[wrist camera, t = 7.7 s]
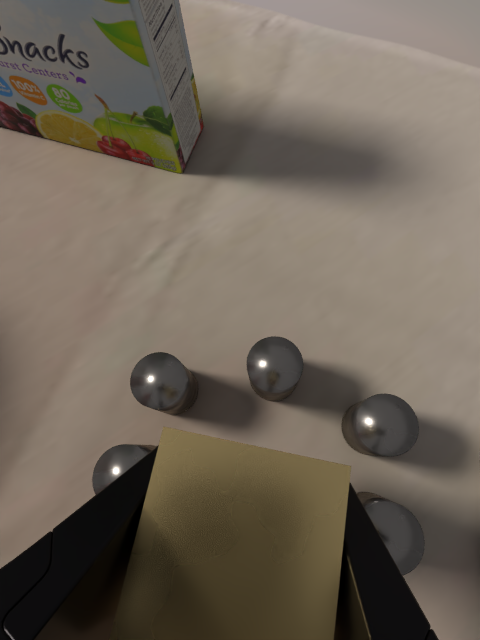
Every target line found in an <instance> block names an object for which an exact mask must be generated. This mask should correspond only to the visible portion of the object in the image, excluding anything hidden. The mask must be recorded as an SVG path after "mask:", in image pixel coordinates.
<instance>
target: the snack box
mask: <svg viewBox="0 0 480 640" xmlns="http://www.w3.org/2000/svg"><path fill="white" fill-rule="evenodd" d="M0 126H1V127H5V128H9V129H13V130H17V131H21V132H24V133H28V134H32V135H36V136H40V137H44V138H48V139H52V140H55V141H59V142H63V143H66V144H70V145H74V146H78V147H82V148H85V149H89V150H93V151H97V152H101V153H104V154H108V155H112V156H115V157H119V158H123V159H127V160H131V161H134V162H138V163H141V164H146V165H150V166H153V167H157V168H161V169H164V170H168V171H172V172H176V173H183V172H184V169H185V166H186V164H187V162H188V159H189V157H190V155H191V153H192V150H193V148H194V146H195V144H196V142H197V139H198V137H199V135H200V133H201V131H202V129H203V120H202V115H201V109H200V105H199V100H198V95H197V89H196V84H195V79H194V74H193V69H192V64H191V59H190V54H189V50H188V44H187V39H186V34H185V29H184V24H183V19H182V14H181V8H180V3H179V0H0Z"/></svg>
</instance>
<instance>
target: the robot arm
mask: <svg viewBox="0 0 480 640" xmlns="http://www.w3.org/2000/svg"><path fill="white" fill-rule="evenodd" d="M158 447H159V445H158V446H157V447H156V448H155V449H153V450H152V451H151V452H150V453H148V454H147V455H146V456H144V457H143V458H142V459H141V460H139V461H138V462H137V463H136V464H134V465H133V466H132V467H131V468H129V469H128V470H127V471H126V472H124V473H123V474H122V475H121V476H119V477H118V478H117V479H116V480H114V481H113V482H112V483H110V484H109V485H108V486H107V487H105V488H104V489H103V490H102V491H100V492H99V493H98V494H97V495H95V496H94V497H93V498H92V499H90V500H89V501H88V502H87V503H85V504H84V505H83V506H81V507H80V508H79V509H78V510H76V511H75V512H74V513H73V514H71V515H70V516H69V517H68V518H66V519H65V520H64V521H63V522H61V523H60V524H59V525H58V526H56V527H55V528H54V529H53V532H51V531H50V532H48V533H47V534H46V535H45V536H43V537H42V538H41V539H40V540H38V541H37V542H36V543H35V544H33V545H32V546H31V547H29V548H28V549H27V550H25V551H24V552H23V553H21V554H20V555H19V556H17V557H16V558H15V559H14V560H12V561H11V562H9V563H8V564H6V565H5V566H4V567H2V568H1V569H0V640H109V638H110V635H111V631H112V627H113V623H114V619H115V615H116V611H117V607H118V603H119V599H120V595H121V591H122V588H123V584H124V580H125V576H126V572H127V568H128V564H129V560H130V556H131V552H132V548H133V544H134V541H135V537H136V533H137V529H138V525H139V521H140V517H141V513H142V509H143V505H144V501H145V497H146V494H147V490H148V486H149V482H150V478H151V474H152V470H153V466H154V462H155V458H156V454H157V451H158ZM334 640H438V638H437V636H436V634H435V632H434V631H433V630H432V629H430V624H429V622H428V620H427V618H426V617H425V615H424V613H423V611H422V609H421V608H420V606H419V604H418V602H417V601H416V599H415V597H414V595H413V593H412V592H411V590H410V588H409V586H408V584H407V583H406V581H405V579H404V577H403V576H402V574H401V572H400V570H399V568H398V567H397V565H396V563H395V561H394V560H393V558H392V556H391V554H390V552H389V551H388V549H387V547H386V545H385V544H384V542H383V540H382V538H381V536H380V535H379V533H378V531H377V529H376V527H375V526H374V524H373V522H372V520H371V519H370V517H369V515H368V513H367V511H366V510H365V508H364V506H363V504H362V503H361V501H360V499H359V497H358V495H357V494H356V492H355V490H354V488H353V487H352V485H351V483H350V482H349V492H348V502H347V512H346V521H345V531H344V541H343V551H342V561H341V571H340V581H339V591H338V601H337V611H336V621H335V630H334Z"/></svg>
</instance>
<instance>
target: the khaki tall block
mask: <svg viewBox="0 0 480 640" xmlns="http://www.w3.org/2000/svg"><path fill="white" fill-rule="evenodd" d="M350 472H351V466H348V465H343V464H338V463H333V462H329V461H324V460H319V459H314V458H310V457H305V456H300V455H295V454H291V453H286V452H281V451H276V450H272V449H267V448H262V447H257V446H253V445H248V444H243V443H239V442H234V441H229V440H224V439H220V438H215V437H210V436H205V435H201V434H196V433H191V432H186V431H182V430H177V429H172V428H167V427H163V431H162V435H161V439H160V443H159V447H158V451H157V454H156V458H155V462H154V466H153V470H152V474H151V478H150V482H149V486H148V490H147V494H146V497H145V501H144V505H143V509H142V513H141V517H140V521H139V525H138V529H137V533H136V537H135V541H134V544H133V548H132V552H131V556H130V560H129V564H128V568H127V572H126V576H125V580H124V584H123V588H122V591H121V595H120V599H119V603H118V607H117V611H116V615H115V619H114V623H113V627H112V631H111V635H110V638H109V640H334V630H335V621H336V611H337V601H338V591H339V581H340V571H341V561H342V551H343V541H344V531H345V521H346V512H347V502H348V492H349V482H350Z"/></svg>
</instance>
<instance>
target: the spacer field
mask: <svg viewBox="0 0 480 640" xmlns="http://www.w3.org/2000/svg"><path fill="white" fill-rule="evenodd" d="M302 370H303V359H302V355H301V353H300V351H299V349H298V348H297V347H296V346H295V345H294V344H293V343H292V342H291V341H289V340H287V339H285V338H282V337H267V338H264V339H262V340H260V341H258V342H257V343H256V344H255V345H254V346H253V347H252V348H251V350H250V352H249V354H248V357H247V371H248V375H249V379H250V383H251V386H252V388H253V390H254V391H255V392H256V394H257V395H259V396H260V397H262V398H263V399H266V400H269V401H278V400H282V399H284V398H286V397H288V396H289V395H290V394H291V393H292V392H293V390H294V389H295V387H296V385H297V382H298V380H299V378H300V376H301V374H302ZM130 386H131V390H132V393H133V395H134V397H135V398H136V399H137V401H138V402H140V403H141V404H142V405H144V406H147V407H149V408H152V409H155V410H158V411H161V412H164V413H167V414H180V413H183V412H185V411H186V410H188V409H189V408H190V407H191V406H192V405H193V404H194V402H195V400H196V398H197V395H198V384H197V381H196V378H195V377H194V375H193V374H192V373H191V372H190V371H189V370H188V369H187V368H186V367H185V366H184V365H183V364H182V363H181V362H180V361H179V360H178V359H177V358H176V357H174V356H173V355H171V354H168V353H163V352H157V353H152V354H149V355H147V356H145V357H144V358H142V359H141V360H140V361H139V362H138V363H137V364H136V366H135V367H134V369H133V372H132V374H131V380H130ZM341 427H342V433H343V436H344V438H345V440H346V442H347V443H348V444H349V446H350V447H351V448H353V449H354V450H356V451H357V452H359V453H362V454H367V455H380V456H397V455H401V454H403V453H405V452H407V451H408V450H409V449H411V448H412V446H413V445H414V444H415V442H416V440H417V437H418V432H419V425H418V420H417V417H416V415H415V413H414V411H413V409H412V408H411V407H410V406H409V404H408V403H406V402H405V401H404V400H403V399H401V398H399V397H397V396H394V395H391V394H377V395H374V396H372V397H369V398H367V399H365V400H363V401H361V402H359V403H357V404H355V405H353V406H351V407H350V408H349V409H348V410H347V411H346V413H345V414H344V416H343V419H342V426H341ZM155 448H156V446H153V445H128V444H123V445H118V446H115V447H112V448H110V449H109V450H107V451H106V452H105V453H104V454H103V455H102V456H101V457H100V458H99V460H98V462H97V463H96V466H95V468H94V472H93V488H94V492H95V494H96V495H97V494H98V493H99V492H100V491H102V490H103V489H104V488H105V487H107V486H108V485H109V484H110V483H112V482H113V481H114V480H116V479H117V478H118V477H119V476H121V475H122V474H123V473H124V472H126V471H127V470H128V469H129V468H131V467H132V466H133V465H134V464H136V463H137V462H138V461H139V460H141V459H142V458H143V457H144V456H146V455H147V454H148V453H150V452H151V451H152V450H153V449H155ZM357 495H358V497H359V499H360V501H361V503H362V504H363V506H364V508H365V510H366V511H367V513H368V515H369V517H370V519H371V520H372V522H373V524H374V526H375V527H376V529H377V531H378V533H379V535H380V536H381V538H382V540H383V542H384V544H385V545H386V547H387V549H388V551H389V552H390V554H391V556H392V558H393V560H394V561H395V563H396V565H397V567H398V568H399V570H400V572H401V574H402V575H405V574H407V573H409V572H411V571H412V570H413V569H414V568H416V566H417V565H418V564H419V562H420V560H421V558H422V556H423V552H424V535H423V532H422V529H421V526H420V524H419V522H418V521H417V519H416V518H415V516H414V515H413V514H412V513H411V512H410V511H409V510H407V509H406V508H405V507H403V506H401V505H399V504H397V503H394V502H392V501H390V500H387V499H385V498H383V497H380V496H378V495H376V494H373V493H369V492H360V493H357Z"/></svg>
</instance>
